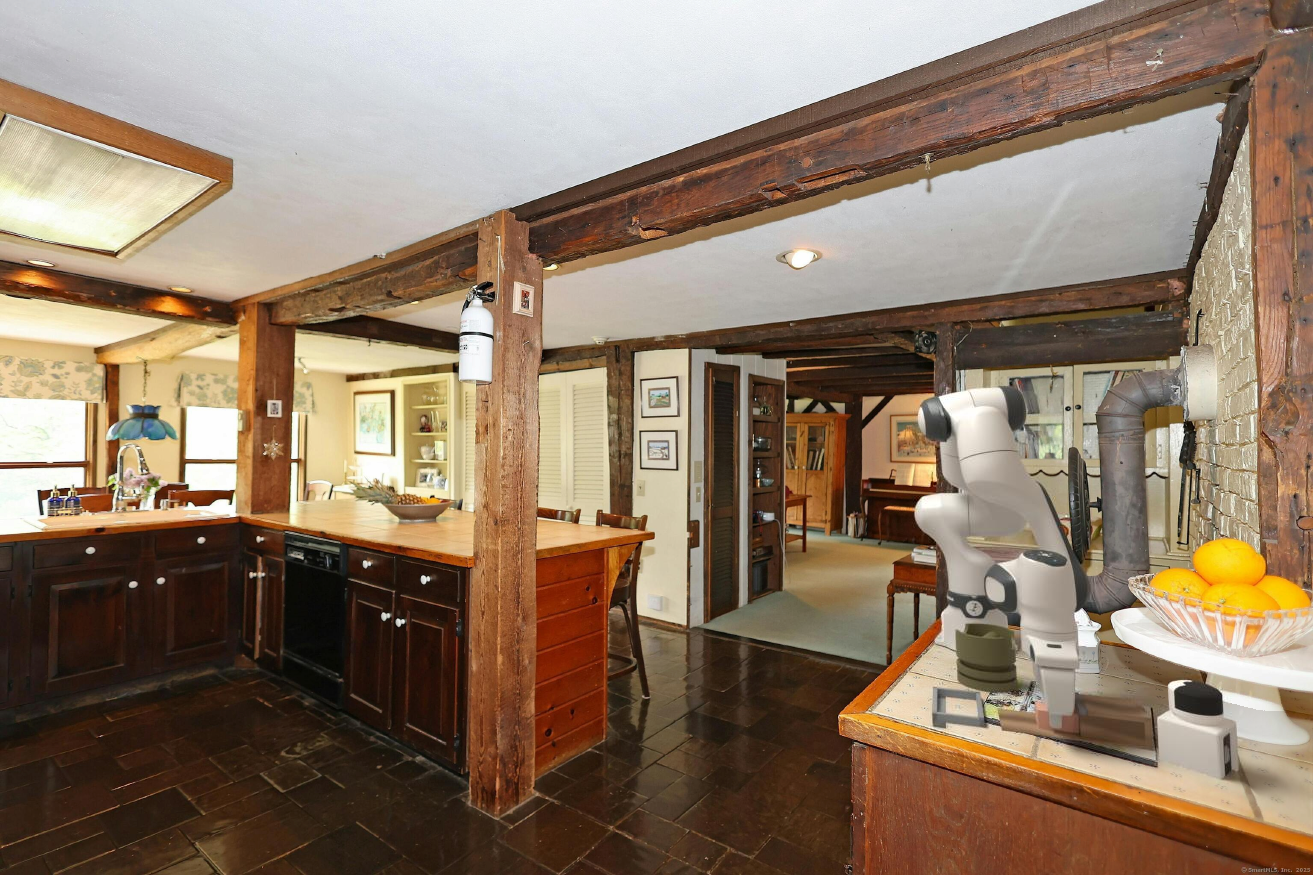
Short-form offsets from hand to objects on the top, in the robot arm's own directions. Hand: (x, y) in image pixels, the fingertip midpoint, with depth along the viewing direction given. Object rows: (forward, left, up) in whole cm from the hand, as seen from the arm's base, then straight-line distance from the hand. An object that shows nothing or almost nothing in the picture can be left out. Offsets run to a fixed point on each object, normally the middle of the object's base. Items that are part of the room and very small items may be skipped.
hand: (1052, 720), depth 113 cm
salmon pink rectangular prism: (0, +3, -1) cm, 3 cm away
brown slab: (0, +3, -2) cm, 3 cm away
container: (+7, +19, -2) cm, 20 cm away
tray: (-2, -15, -2) cm, 16 cm away
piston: (-19, -9, -2) cm, 21 cm away
